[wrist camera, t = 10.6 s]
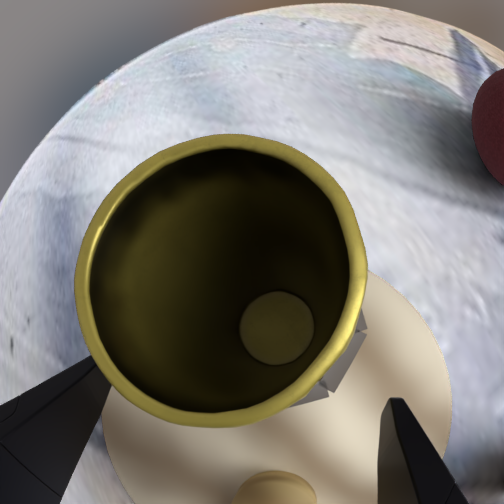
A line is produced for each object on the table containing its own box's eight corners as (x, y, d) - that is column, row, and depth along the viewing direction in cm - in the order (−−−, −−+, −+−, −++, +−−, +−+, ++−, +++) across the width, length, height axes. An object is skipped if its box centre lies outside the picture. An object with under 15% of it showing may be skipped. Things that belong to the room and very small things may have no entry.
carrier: (318, 594, 12) (318, 616, 9) (69, 446, 19) (45, 453, 16) (496, 346, 16) (519, 343, 14) (213, 197, 23) (200, 176, 20)
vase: (344, 298, 18) (428, 163, 5) (306, 395, 17) (303, 513, 4) (250, 264, 20) (146, 98, 6) (210, 356, 19) (21, 347, 5)
